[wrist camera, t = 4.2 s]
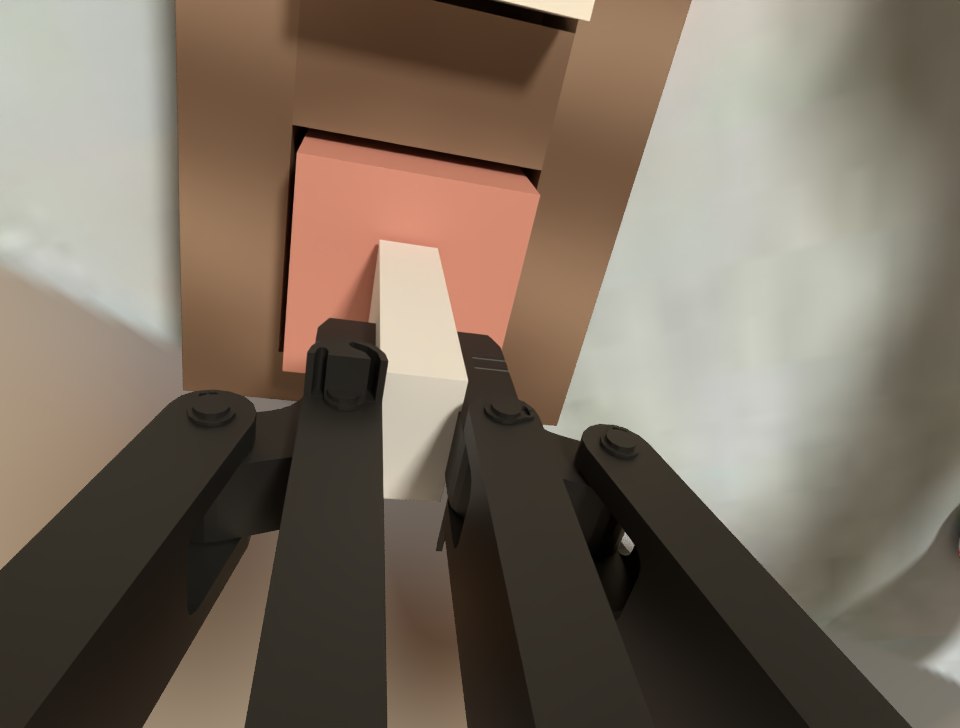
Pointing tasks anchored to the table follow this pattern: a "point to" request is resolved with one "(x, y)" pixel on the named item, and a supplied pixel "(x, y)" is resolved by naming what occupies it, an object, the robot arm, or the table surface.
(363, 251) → the key red
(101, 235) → the table surface
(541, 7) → the key cream
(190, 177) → the key panel
